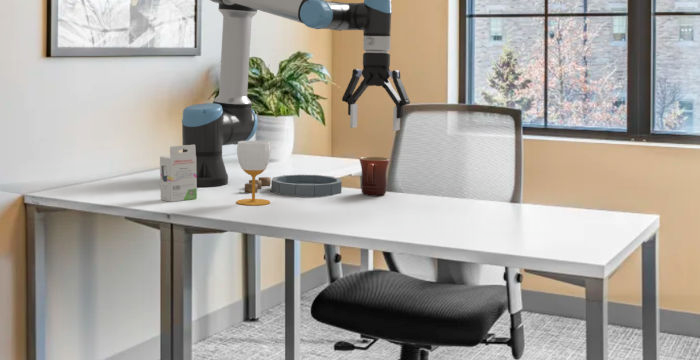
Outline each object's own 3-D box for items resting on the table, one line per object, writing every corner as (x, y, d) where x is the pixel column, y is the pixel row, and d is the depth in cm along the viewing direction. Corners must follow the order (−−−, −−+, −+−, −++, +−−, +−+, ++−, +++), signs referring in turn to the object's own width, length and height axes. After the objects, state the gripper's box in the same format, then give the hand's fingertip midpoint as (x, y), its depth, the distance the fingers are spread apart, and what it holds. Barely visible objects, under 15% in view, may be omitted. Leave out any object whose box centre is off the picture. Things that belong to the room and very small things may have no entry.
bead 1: (242, 192, 250) (242, 184, 250) (249, 191, 253) (249, 182, 253) (252, 193, 248) (252, 185, 248) (260, 192, 251) (260, 183, 251)
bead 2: (246, 188, 257) (246, 180, 256) (253, 187, 260) (253, 179, 259) (256, 190, 255) (256, 181, 254) (263, 188, 258) (263, 180, 258)
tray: (258, 191, 252) (258, 180, 251) (297, 183, 269) (297, 172, 268) (317, 198, 242) (317, 187, 241) (354, 189, 259) (354, 179, 259)
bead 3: (255, 186, 262) (256, 178, 262) (263, 184, 265) (263, 176, 265) (265, 187, 260) (265, 179, 260) (272, 185, 264) (273, 177, 263)
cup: (261, 206, 228) (262, 144, 226) (230, 203, 231) (230, 142, 229) (276, 201, 237) (277, 141, 234) (245, 198, 240) (246, 139, 237)
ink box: (186, 196, 241) (186, 142, 238) (197, 199, 237) (197, 144, 235) (159, 199, 235) (158, 144, 232) (169, 202, 231) (169, 146, 229)
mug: (361, 191, 257) (362, 156, 255) (391, 192, 255) (392, 157, 254) (353, 197, 245) (354, 161, 244) (384, 199, 244) (385, 162, 242)
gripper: (331, 51, 247) (329, 126, 250) (411, 52, 235) (408, 132, 238) (344, 51, 254) (343, 125, 257) (423, 53, 241) (420, 130, 244)
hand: (374, 128), depth 247 cm, fingers open, 13 cm apart
